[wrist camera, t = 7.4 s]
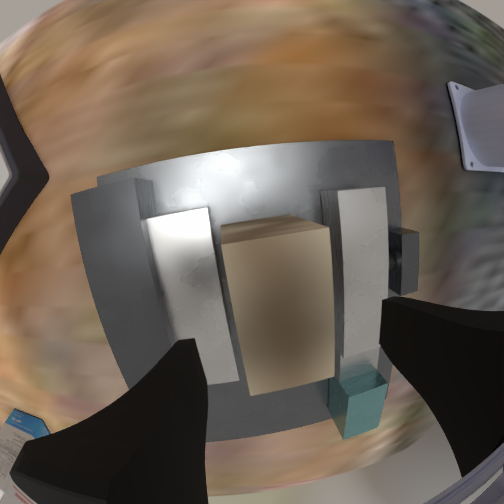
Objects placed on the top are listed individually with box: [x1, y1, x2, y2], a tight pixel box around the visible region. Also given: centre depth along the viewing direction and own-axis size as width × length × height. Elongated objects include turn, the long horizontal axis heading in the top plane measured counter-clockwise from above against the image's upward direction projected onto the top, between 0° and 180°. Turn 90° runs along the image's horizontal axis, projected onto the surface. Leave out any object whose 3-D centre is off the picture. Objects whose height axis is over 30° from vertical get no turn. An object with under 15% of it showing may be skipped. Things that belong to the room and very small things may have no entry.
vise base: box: [71, 140, 419, 442], centre depth 16 cm, size 19×22×4 cm
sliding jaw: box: [320, 187, 389, 440], centre depth 16 cm, size 3×18×4 cm, turn 8°
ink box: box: [0, 409, 50, 504], centre depth 11 cm, size 8×5×15 cm, turn 177°
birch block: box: [220, 214, 335, 396], centre depth 13 cm, size 4×7×6 cm, turn 8°
